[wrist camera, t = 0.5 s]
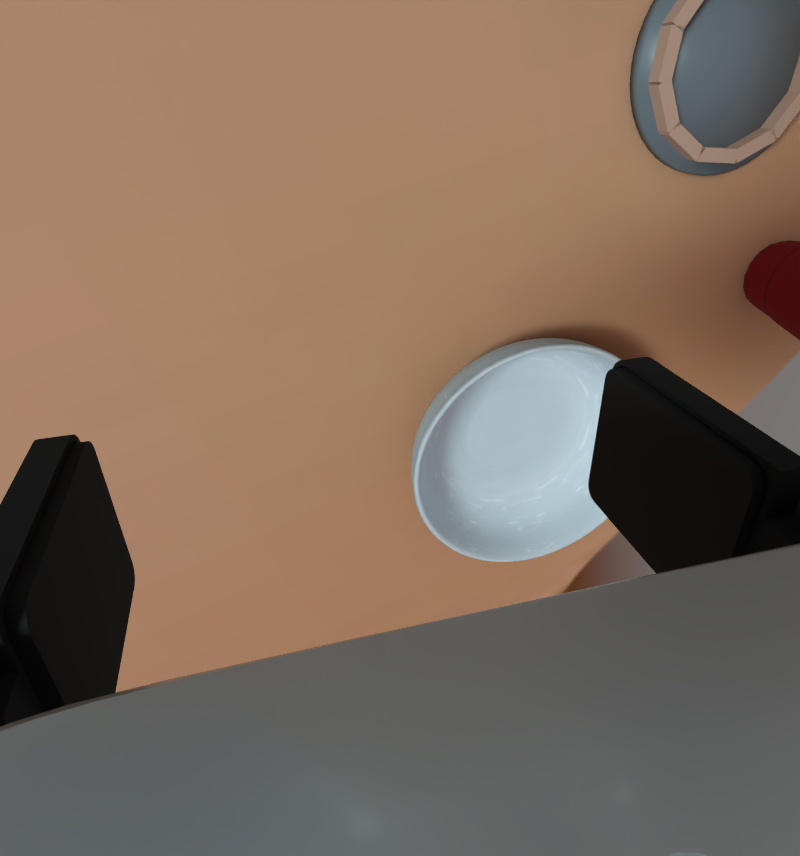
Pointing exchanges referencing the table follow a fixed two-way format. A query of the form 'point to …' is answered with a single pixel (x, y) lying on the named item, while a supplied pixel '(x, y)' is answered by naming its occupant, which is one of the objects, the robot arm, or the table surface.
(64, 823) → the robot arm
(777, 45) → the ring tray
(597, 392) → the serving bowl
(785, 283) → the plastic cup
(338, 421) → the table surface
